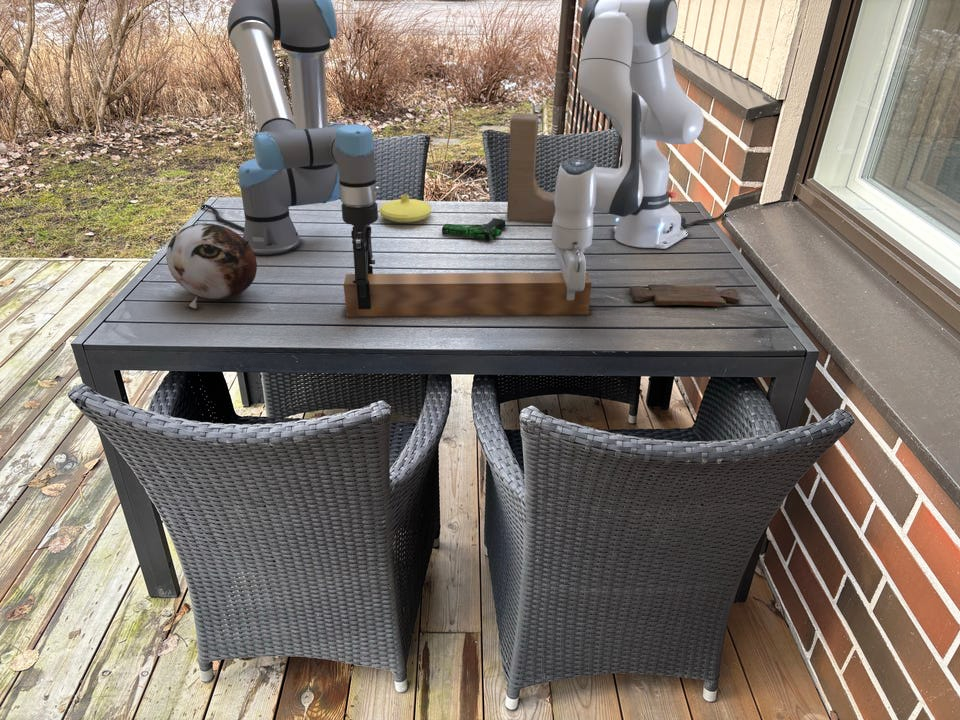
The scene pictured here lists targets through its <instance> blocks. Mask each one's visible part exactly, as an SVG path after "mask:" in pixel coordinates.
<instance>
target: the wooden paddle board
mask: <svg viewBox="0 0 960 720" xmlns="http://www.w3.org/2000/svg"><path fill="white" fill-rule="evenodd" d="M629 290H630V296H631V299H632V301H633V302H635V303H643V302H648V301H651V300H654V303H655V305H656V306H703V307H705V306H706V307H707V306H708V307H725V306H726V305H727V302H729V303H735V304H738V303H739V302H740V297H739V294H738V291H737V289H735V288H727V289H721V290H717V289H716V285H675V284H648V285H647V288H645V287H643V286H641V285H631V286H630V287H629Z"/></svg>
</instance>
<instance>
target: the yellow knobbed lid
mask: <svg viewBox="0 0 960 720" xmlns="http://www.w3.org/2000/svg"><path fill="white" fill-rule="evenodd" d="M432 209H433V208H432V206H431V205H430V204H429V203H428V202H426V201H423V200H420V199H413V198H410V196H409V195H408V194H402V195H401V196H400V199H399V198H398V199H392V200H389V201H387V202H384V203H383V204H381V206H380V207H379V209H378V212H379V213H380V216H381V217H383V218H384V219H387V220H389V221H392V222H395V223H401V224H408V223H409V224H411V223H416V222H419V221H422V220H424V219H426V218H428V217H429V216H430V215H431V213H432Z"/></svg>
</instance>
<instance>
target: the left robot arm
mask: <svg viewBox="0 0 960 720" xmlns="http://www.w3.org/2000/svg"><path fill="white" fill-rule="evenodd" d="M337 22H338V21H337V17H336V12H335V8H334V4H333V0H234V2H233V3H232V5H231V8H230V10H229V13H228V18H227V26H226V27H227V35H228V38H229V42H230V45H231V47H232V48H233V49H234V51H236V52H237V53H238V57H239V61H240V64H241V68H242V72H243V75H244V79H245V83H246V86H247V91H248V94H249V97H250V102H251V105H252V108H253V112H254V116H255V119H256V123H257V127H258V130H259V132H256V133H254V135H253V136H252V137H253V138H252V143H253V144H252V145H253V151H254V156H255V158H251V159H248V160H247V161H245V162H243V163H242V164H241V165H240V166H239V168H238V170H237V174H238V186H239V188H240V194H241V195H240V196H241V201H242V207H243V212H244V213H243V215H244V219H245V220H244V226H241V225H239V224H237V223H235V222H232V221H229V220H227V219H224V218H222V217H221V216H220V214H219V211H218V210H217V209H216V208H214V207H213V206H212V205H209V204H202V205H201V206H200V210H204V209H205V208H207V209H208V210H211V211H212V212H214V214H215V217H216V219H217V220H219V221H220V222H222V223H223V224H226V225H229V226H231V227H233V228H236V229H238V230H241V231H243V235H242V237H243V238H244V239H245V240H246V241H249V242H248V244H249V245H250V247H251V248H252V250H253V252H254V254H255V256H256V255H257V256H275V255H281V254H282V255H283V254H285V253H289V252H291V251H293V250H296V249H297V248H298V247H299V246H300V244H301V241H300V235H299V233H298V231H297V229H296V227H295V225H294V223H293V220H292V218H291V216H290V207H299V206H305V205H306V206H308V205H314V204H315V205H316V204H317V205H318V204H326V203H329V202H330V203H331V202H335V201H338V200H340V202H341V203H342V204H341V205H340V206H341V216H342V221H343V223H345V224H347V225H351V226H352V230H351V231H350V237H351V243H352V250H353V267H354V269H353V270H354V274H355V281H353V283H355V284H357V296H358V309H371V299H370V285H369V279H368V274H374V271H373V268H374V267H373V265H376V259H373V257H374V255H373V249H372V226H371V225H372V224H374V223H376V222H377V221H378V220H379V209H378V208H379V207H378V202H377V201H378V200H377V199H378V196H377V195H378V194H377V192H379V191H380V187H379V186H376V185H377V179H376V161H375V147H376V145H375V142H374V133H373V130H372V129H371V127H369V126H368V125H364V124H360V123H359V124H358V123H350V124H345V123H343V122H332V123H330V124H329V116H328V115H329V113H328V101H327V100H328V99H327V97H328V95H327V81H326V80H327V79H326V66H325V63H326V62H325V61H326V59H325V55H326V53H328V51H329V50H330V49H331V41H333V40H334V39H336V38H337V37H338V23H337ZM275 41H276V42H277V41H278V42H279V44H280V49H282V50H283V51H284V52H285V53H286V54H287V58H288V59H287V61H288V69H289V71H288V72H289V83H290V94H291V104H292V109H291V105H290V101H289V99H288V95H287V92H286V88H285V85H284V81H283V78H282V74H281V71H280V68H279V65H278V60H277V58H276V54H275V52H274V47H273V45H274V43H275ZM205 206H206V207H205ZM202 207H203V208H202Z"/></svg>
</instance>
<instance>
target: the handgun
mask: <svg viewBox="0 0 960 720" xmlns="http://www.w3.org/2000/svg"><path fill="white" fill-rule="evenodd" d="M505 228H506V220H505V219H503V218H497V217H492V219H491V220H490V221H489V222H488V223H483V224H482V225H479V224H472V225H459V224H453V223H445V224H443V226H442V227H441V235H446V236H454V237H462V238H469V239H470V238H471V239H474V240H479V241H484V242H491V241H492V240H494V239H495V238H497V237H500V236H502V230H504V229H505Z"/></svg>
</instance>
